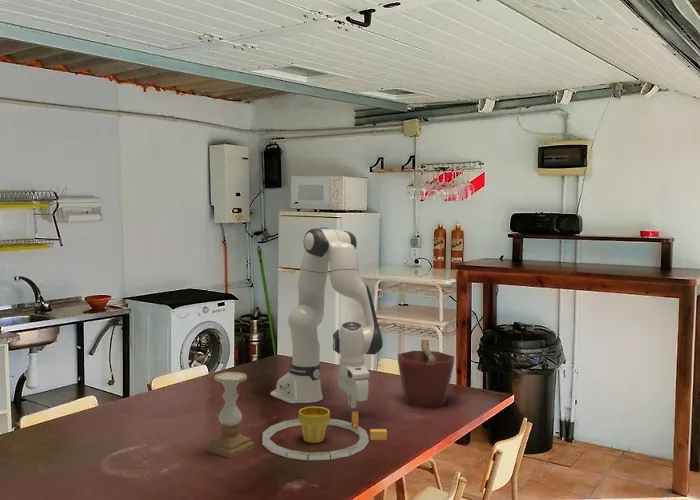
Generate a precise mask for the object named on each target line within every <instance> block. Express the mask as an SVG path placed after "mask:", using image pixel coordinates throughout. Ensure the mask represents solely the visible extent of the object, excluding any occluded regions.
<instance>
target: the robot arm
mask: <svg viewBox="0 0 700 500" xmlns="http://www.w3.org/2000/svg"><path fill="white" fill-rule="evenodd" d="M302 242H303V248H304V252H303V256H302V259H301V263H300V268H299V276H298V280H297V281H298V282H297V290H298V293H297V294H298V303H297V306H296V307H294V308H293V309H292V310H291V311H290V314H289V315H288V319H287V323H288V326H289V328H290V337H291V342H292V343H291V344H292V362H291V364H287V367H286V368H289V370H288V372H287V373H285V374H284V375H283V376H281V377H280V378H279V379H278V380H277V382H276V388H275V389H274V390H272V391H271V392H270V396H272V397H274V398H277V399H279V400H282V401H284V402H286V403H289V404H297V403H298V404H308V403H316V402H319V401H321V400H323V399H324V396H323V392H322V383H321V369H322V367H321V363H320V355H321V354H320V350H321V344H320V341H319V337H318V326H319V325H320V324H321V323H322V322H323V320H324V315H325V314H324V313H325V311H324V310H325V293H326V292H325V290H326V285H327V277H328V272H329V278H330V283H331V287H332V289H333V290H334V291H335V292H336V293H338V294H340V295H341V296H344V297H346V298H350V299H353V300H354V301H356V302H358V303H359V304H360V305H361V307H362V311H363V315H364V321H365V323H366V324H365V325H366V326H365V327H363V325H362V324H361V323H359V322H356V321H348V322H344V323H342V324H341V326H340V328H339V329H336V330H335V332H334V333H333V334H332V341H333V342H332V349H333V351H334V352H336V354H338V355H340V358H339V370H338V374H337V375H338V377H337V384H338V385H337V386H338V388H339V389H340V390H342V391H343V392H345V394H346V396H347V401H348V406H349V407H350V408H352V409H355V408H357V402H365V401H367V400H368V398H369V380H368V379H369V378H370V371H369V370H368V368H367V367H366V364H365V356H364V355H374V356H375V355H377V353H379V352H380V351H381V350H382V349H383V345H384V344H383V343H384V340H383V339H384V338H383V335H382V332H381V328H380V325H379V322H378V317H377V313H376V309H375V305H374V301H373V296H372V292H371V289H370V288H369V285H367V284H366V283H364V282H363V280H362V278H361V275H360V265H359V257H358V253H357V250H356V249H357V245H358V244H357V243H358V242H357V238H356V236H355V235H354V233H352V232H350V231H347V230H341V229H340V230H339V229H335V228H312V229H309V230H307V232H306V233H305V235H304V237H303V241H302Z"/></svg>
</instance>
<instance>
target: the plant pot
mask: <svg viewBox="0 0 700 500" xmlns="http://www.w3.org/2000/svg"><path fill="white" fill-rule="evenodd" d="M298 419H299V422H300V423H301V425H300V426H301V431H302V437H303V441H305V442H307V443H308V444H309V443H311V444H314V443H315V444H316V443H321V442H323V441H324V439H325V434H326V430H327V427H328V425H327V423H328V422H329V421H330V419H331V412H330V410H329V409H328V408H325V407H321V406H306V407H303V408H300V409H299V410H298Z"/></svg>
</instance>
